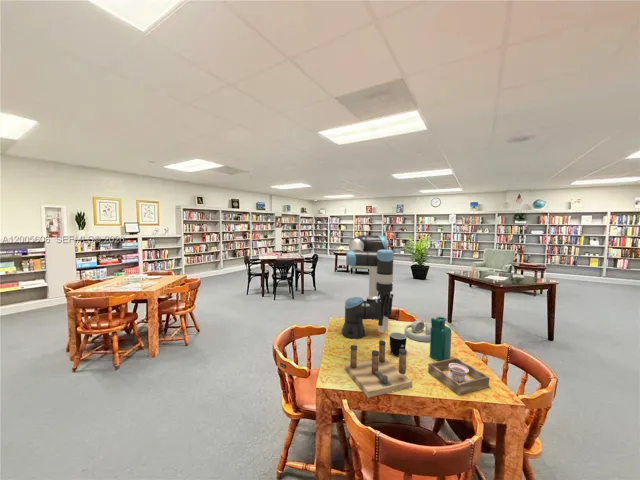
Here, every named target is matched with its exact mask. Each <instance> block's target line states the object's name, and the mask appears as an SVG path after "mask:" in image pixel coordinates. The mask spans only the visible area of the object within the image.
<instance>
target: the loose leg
mask: <svg viewBox="0 0 640 480" xmlns="http://www.w3.org/2000/svg"><path fill="white" fill-rule="evenodd" d="M407 351H408V350H406V348H405V349H399V356H398V370H399V373H400V374H404V375H405V374H407V373H406V372H407V354H408V353H407Z"/></svg>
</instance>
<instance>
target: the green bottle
mask: <svg viewBox="0 0 640 480" xmlns="http://www.w3.org/2000/svg"><path fill="white" fill-rule="evenodd" d="M430 320H431V321H430V323H431V325H432V327H431V334H430V342H429V357H430V358H432V359H434V360H436V361H437V362H438V361H443V360H447V359H451V354H452V353H451V350H452V349H451V348H452V347H451V346H452V328H450V327H449V326H446V321H448V319H447V318H446V317H442V316H436V318H434V317H432V318H430Z"/></svg>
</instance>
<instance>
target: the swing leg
mask: <svg viewBox="0 0 640 480" xmlns="http://www.w3.org/2000/svg"><path fill="white" fill-rule="evenodd" d="M371 360H372V373H373V374H375V375H376V376H377V377H378V378H379V379H380V380H381V381H382V383H384V384H387V383H388V377H387V376H386V375H382V374H381V373H380V372H379V371H378V360H379V350H372V351H371Z"/></svg>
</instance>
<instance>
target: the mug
mask: <svg viewBox="0 0 640 480" xmlns="http://www.w3.org/2000/svg"><path fill="white" fill-rule="evenodd" d="M406 345H407V336H406V334H405V333H402V332H397V331H395V332H391V333H389V348H390V352H391V354H392V355H393V356H397V357H399V349H405V350H406V348H407V346H406Z"/></svg>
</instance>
